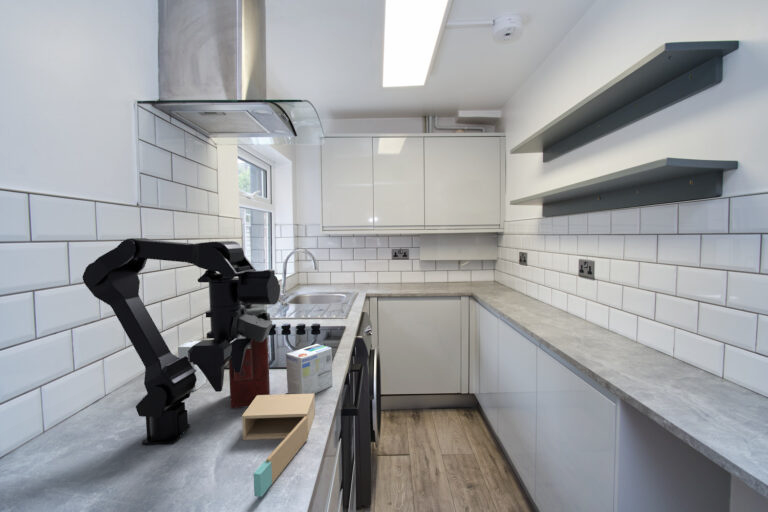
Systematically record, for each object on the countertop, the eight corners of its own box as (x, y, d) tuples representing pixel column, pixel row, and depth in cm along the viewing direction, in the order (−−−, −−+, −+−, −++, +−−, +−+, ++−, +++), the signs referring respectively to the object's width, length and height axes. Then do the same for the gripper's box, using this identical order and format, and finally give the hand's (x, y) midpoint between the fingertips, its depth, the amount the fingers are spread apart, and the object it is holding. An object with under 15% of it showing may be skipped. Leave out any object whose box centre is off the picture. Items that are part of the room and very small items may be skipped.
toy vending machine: (229, 413, 80) (224, 294, 78) (234, 393, 90) (229, 287, 89) (269, 406, 82) (265, 291, 81) (269, 387, 93) (266, 285, 92)
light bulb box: (317, 379, 98) (316, 342, 97) (333, 385, 94) (332, 347, 93) (286, 393, 90) (284, 352, 89) (301, 400, 85) (300, 358, 85)
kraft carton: (242, 439, 69) (241, 415, 69) (257, 416, 78) (257, 395, 78) (307, 437, 69) (306, 413, 69) (315, 414, 78) (314, 393, 78)
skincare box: (196, 391, 92) (193, 346, 91) (178, 391, 91) (176, 347, 91) (207, 381, 98) (205, 340, 97) (191, 382, 98) (189, 340, 97)
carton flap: (261, 499, 52) (260, 471, 52) (254, 498, 53) (253, 470, 53) (309, 438, 68) (308, 416, 68) (304, 437, 69) (303, 416, 68)
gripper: (250, 313, 59) (253, 402, 60) (279, 295, 77) (281, 363, 78) (184, 315, 58) (188, 404, 59) (229, 296, 77) (232, 364, 78)
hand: (229, 381), depth 69 cm, fingers open, 9 cm apart
